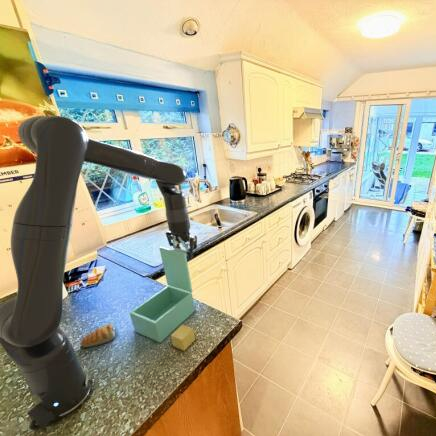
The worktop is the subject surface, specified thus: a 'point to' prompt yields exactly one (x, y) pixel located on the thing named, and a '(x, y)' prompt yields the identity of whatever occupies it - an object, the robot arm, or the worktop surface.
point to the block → (183, 337)
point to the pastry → (99, 336)
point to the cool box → (162, 313)
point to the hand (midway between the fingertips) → (184, 257)
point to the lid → (176, 268)
